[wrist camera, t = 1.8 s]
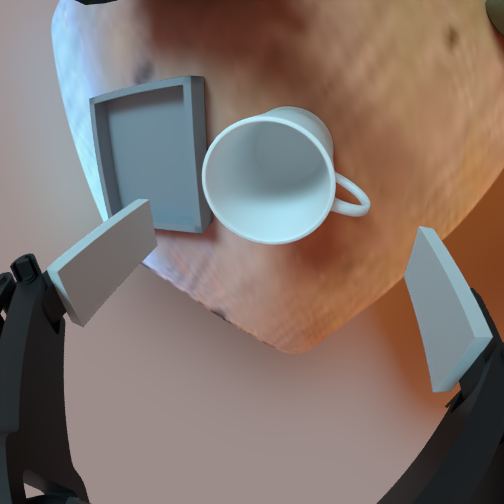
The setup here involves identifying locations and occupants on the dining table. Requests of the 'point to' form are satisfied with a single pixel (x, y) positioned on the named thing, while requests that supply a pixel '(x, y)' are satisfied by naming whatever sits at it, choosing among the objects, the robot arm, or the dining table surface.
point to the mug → (276, 177)
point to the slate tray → (154, 150)
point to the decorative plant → (94, 1)
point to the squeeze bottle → (496, 13)
